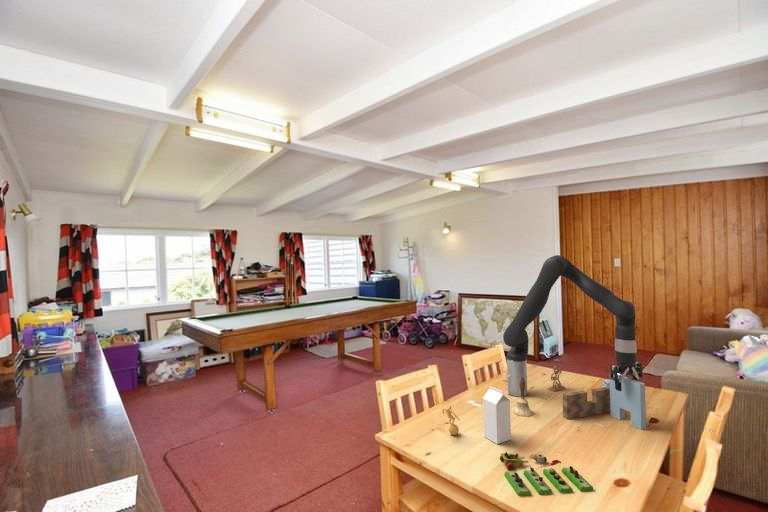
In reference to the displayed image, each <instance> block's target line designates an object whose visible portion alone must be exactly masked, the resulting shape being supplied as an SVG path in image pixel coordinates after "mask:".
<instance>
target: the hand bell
mask: <svg viewBox="0 0 768 512" xmlns="http://www.w3.org/2000/svg"><path fill="white" fill-rule="evenodd" d="M519 387H520V390H521V397H520V398H518V399H517V401H516V405H515V407H514V408H513V409H512V412H513V414H515V415H516V416H520V417H531V416H533V415H534V413H533V411H532V410H531V408H530V406H529V401H528V399H526V397H525V396H524V390H525V380H524V377H522V376H521V377H520V381H519Z"/></svg>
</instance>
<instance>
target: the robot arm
mask: <svg viewBox="0 0 768 512" xmlns="http://www.w3.org/2000/svg"><path fill="white" fill-rule="evenodd" d="M560 277H563V278H565V279H567V280H569V281H570V282H572V283H573V284H575V285H576V286H577V288H579V290H581V292H583V293H584V294H585V295H586V296H587V297H588V298H590V299H592V300H593V301H595V302H596V303H597V304H600V305H601V306H602V307H603V308H605V309H606V310H608V311H609V312H610V313H611V314H612V315H614V316H615V319H616V320H615V323H616V324H615V328H614V333H615V335H614V337H615V338H614V339H615V340H614V359H615V361H616V365H614V364H610V365H609V366H610V367H609V369H610V371H609V380H610V379H612V380H614V381H615V389H616V390H618V391H622V386H621V381H622V379H623V378H624V377H626V376H631V377H630V378H631V379H633V380H636V381H639V380H640V379H641V378H643V377H644V376H643V374H644V373H643V364H642V363H641V362H638V354H637V353H638V351H637V350H638V349H637V339H636V327H635V324H636V307H635V305H634V304H633V303H632V302H631V301H629V300H623V299H621V298H620V297H619V296H617V295H615V293H614V292H613V291H611V289H609V288H608V287H605V286H604V285H602V284H601V283H599V282H597V281H596V280H594V279H593V278H591V277H590V276H588V275H587V274H585V272H583V271H581V270H580V269H579V268H578V267H576V266H575V265H574V264H573V263H572V262H571V261H570V260H568V259H567V258H566V257H565V256H563V255H559V254H555V255H553V256H550V257H548V258H547V259H546V260H545V261H544V262H543V264H542V267H541V269H540V271H539V274H538V276H537V278H536V280H535V282H534V283H533V285H532V286H531V287H530V289H529V291H528V292H527V294H526V296H525V297H524V300H523V301H522V303H521V305H520V307H519V309H518V311H517V312H516V314H515V316H514V317H513V319H512V320H511V322H510V323H509V325H508V326H507V327H506V329H505V331H504V332H503V336H502V338H503V343H504V344H505V345H506V346H507V347H511V348H510V349H509V350H508V351H507V353H506V361H507V362H506V363H507V364H506V365H507V366H506V368H507V372H506V376H507V377H506V379H507V380H506V382H507V384H506V385H507V387H506V388H507V394H508V396H514V397H520V398H521V390H520V387H519V381H520V377H521V376H522V377H524V380H525V390H524V396H528V372H527V371H528V367H527V364H528V363H527V357H528V355H529V335H528V332H527V330H526V328H527V327H528V326H529V325H530V324H531V323H532V322H533V321H535V320H536V319H537V318H538V317H539V316H540V315H541V313H542V312H543V309H544V308H545V307H546V304H547V303H548V299H549V297H550V292H551V290H552V287H554V285H555V283H556V282H557V281H558V279H559V278H560ZM613 376H614V377H613ZM619 376H620V377H619ZM618 377H619V379H618Z"/></svg>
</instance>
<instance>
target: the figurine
mask: <svg viewBox="0 0 768 512" xmlns="http://www.w3.org/2000/svg"><path fill="white" fill-rule="evenodd" d="M441 411H442V415H443V414H445V412H446V415H447V418H449V420H448V421H449V424H450V425H449V426H448V432H449V434H450V435H452V436H456V435H458V433H460V432H459V431H460V428H459V426H458V425H457V424H455V421H456V418H457V420H458V421H460V418H459V417H458V416H457V414H455V413H454V411H452V405H451V404H450V405H448V406H447V407H445V408H442V409H441Z"/></svg>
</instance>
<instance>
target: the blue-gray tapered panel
mask: <svg viewBox="0 0 768 512" xmlns="http://www.w3.org/2000/svg"><path fill="white" fill-rule="evenodd" d="M613 377H614V376H613ZM619 377H620V376H619ZM619 377H618V379H619ZM609 380H610V411H611V412H610V416H611V417H613V418H615V419H617V420H620V421H621V420H625V411H627V412H629V413H630V426H631V427H633V428H636V429H638V430H639V431H643V430H647V415H646V414H647V412H646V411H647V408H646V383H645V382H641V381H639V380H638V381H636V380H633V379H632V378H631V377H627V376H625V377H624V378H623V379H622V381H621V386H622V391H618V390H616V389H615V381H614V380H612V379H610V378H609Z"/></svg>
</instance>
